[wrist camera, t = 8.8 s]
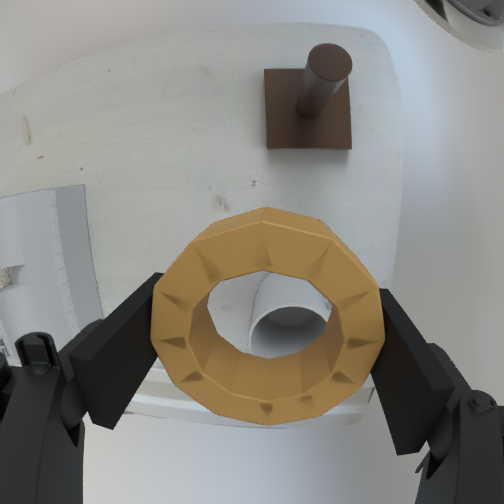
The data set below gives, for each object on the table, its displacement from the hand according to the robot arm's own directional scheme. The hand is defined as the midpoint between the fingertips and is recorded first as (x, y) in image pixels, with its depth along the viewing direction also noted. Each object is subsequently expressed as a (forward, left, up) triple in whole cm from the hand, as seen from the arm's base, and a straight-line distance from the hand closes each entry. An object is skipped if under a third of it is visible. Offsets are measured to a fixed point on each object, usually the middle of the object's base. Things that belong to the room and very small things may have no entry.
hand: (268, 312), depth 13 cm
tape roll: (0, 0, 0) cm, 0 cm away
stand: (+6, -11, -19) cm, 22 cm away
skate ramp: (+19, +28, -19) cm, 39 cm away
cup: (-7, +3, -19) cm, 20 cm away
